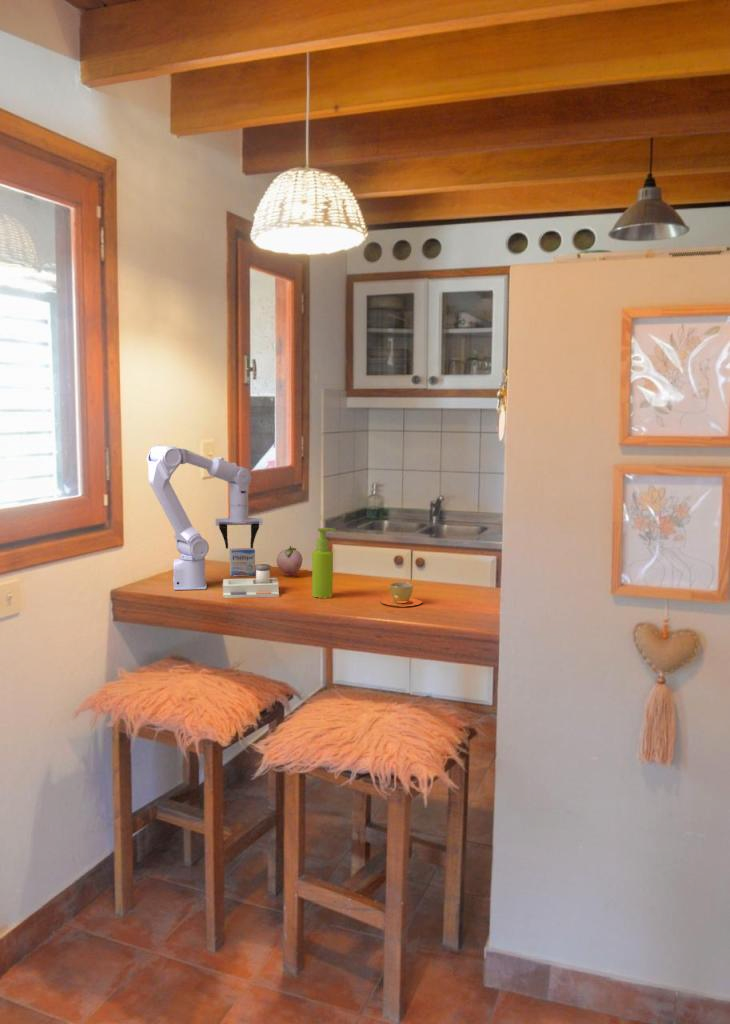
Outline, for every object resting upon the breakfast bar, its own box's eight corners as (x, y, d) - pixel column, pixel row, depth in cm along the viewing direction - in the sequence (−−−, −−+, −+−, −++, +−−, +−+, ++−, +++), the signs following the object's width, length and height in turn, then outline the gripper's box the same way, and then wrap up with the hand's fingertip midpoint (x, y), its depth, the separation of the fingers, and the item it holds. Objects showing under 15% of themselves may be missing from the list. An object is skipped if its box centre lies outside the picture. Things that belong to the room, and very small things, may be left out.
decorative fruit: (278, 573, 259) (278, 543, 257) (303, 573, 259) (303, 543, 257) (275, 579, 249) (275, 548, 248) (300, 579, 249) (300, 548, 248)
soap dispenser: (337, 598, 226) (338, 529, 223) (313, 598, 224) (314, 530, 222) (333, 593, 232) (334, 526, 229) (310, 594, 230) (311, 526, 228)
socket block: (223, 598, 224) (222, 587, 224) (223, 588, 235) (223, 579, 235) (279, 596, 227) (279, 586, 226) (276, 587, 238) (276, 577, 238)
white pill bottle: (255, 590, 231) (256, 566, 230) (255, 587, 235) (255, 564, 234) (269, 590, 231) (270, 566, 230) (269, 586, 235) (269, 564, 234)
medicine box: (230, 576, 252) (230, 550, 251) (229, 574, 257) (229, 548, 255) (255, 575, 254) (255, 549, 253) (253, 573, 259) (253, 547, 257)
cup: (423, 609, 216) (423, 590, 215) (379, 608, 216) (380, 589, 215) (421, 598, 228) (422, 580, 227) (380, 597, 228) (380, 579, 227)
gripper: (215, 506, 239) (215, 550, 241) (262, 506, 242) (263, 549, 243) (215, 503, 246) (216, 546, 248) (262, 503, 248) (262, 545, 250)
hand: (239, 547), depth 246 cm, fingers open, 7 cm apart
